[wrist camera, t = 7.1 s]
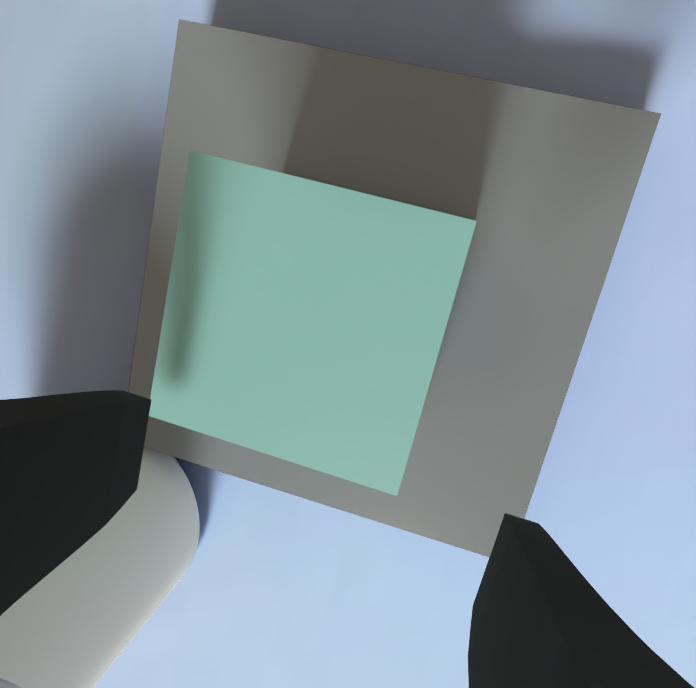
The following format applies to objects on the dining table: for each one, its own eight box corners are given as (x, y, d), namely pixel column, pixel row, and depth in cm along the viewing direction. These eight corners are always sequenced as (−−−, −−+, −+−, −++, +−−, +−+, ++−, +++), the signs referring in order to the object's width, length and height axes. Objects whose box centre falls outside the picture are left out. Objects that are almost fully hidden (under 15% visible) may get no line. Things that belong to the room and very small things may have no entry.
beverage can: (44, 581, 26) (-302, 873, 14) (17, 405, 24) (-397, 575, 13) (215, 600, 24) (-20, 948, 13) (198, 413, 22) (-88, 616, 11)
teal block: (475, 220, 17) (476, 220, 11) (420, 409, 18) (396, 496, 13) (281, 172, 18) (190, 150, 12) (244, 357, 19) (147, 415, 14)
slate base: (640, 125, 17) (662, 112, 15) (505, 532, 21) (508, 565, 19) (208, 38, 19) (177, 18, 17) (150, 421, 23) (120, 441, 21)
